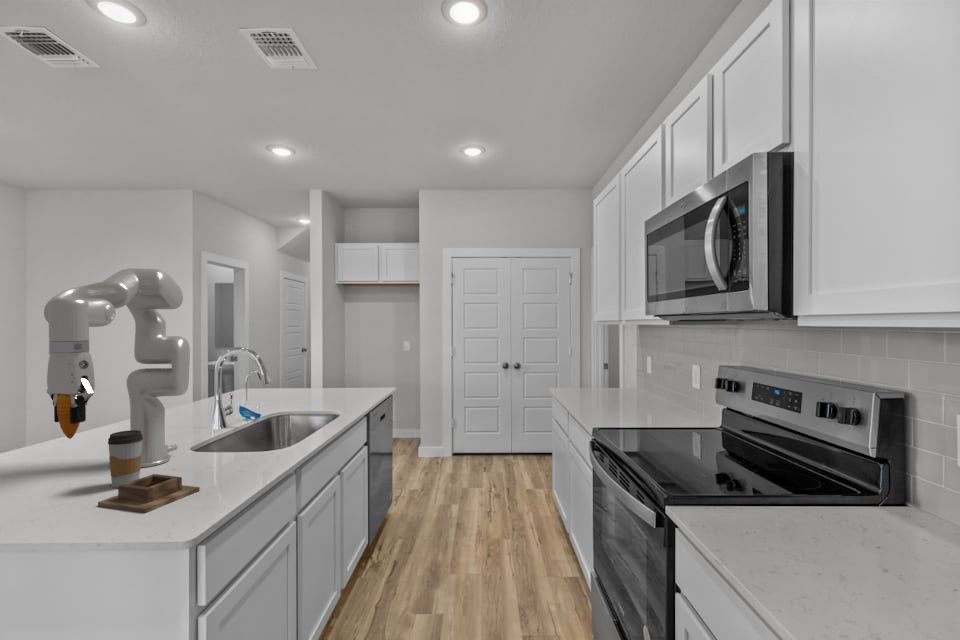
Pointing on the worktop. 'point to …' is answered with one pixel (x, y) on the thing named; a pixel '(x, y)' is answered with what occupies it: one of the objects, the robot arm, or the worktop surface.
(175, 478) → the walnut stand
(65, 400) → the carrot
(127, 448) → the coffee cup
